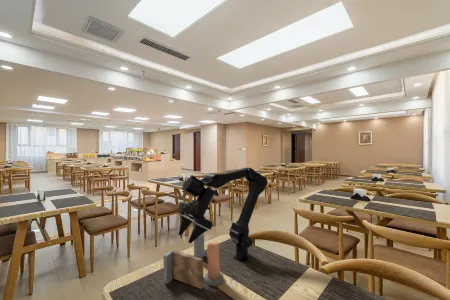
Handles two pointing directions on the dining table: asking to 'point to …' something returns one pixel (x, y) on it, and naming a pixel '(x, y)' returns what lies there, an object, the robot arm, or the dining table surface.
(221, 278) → the door stop
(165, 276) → the door frame
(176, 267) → the door
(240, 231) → the robot arm
